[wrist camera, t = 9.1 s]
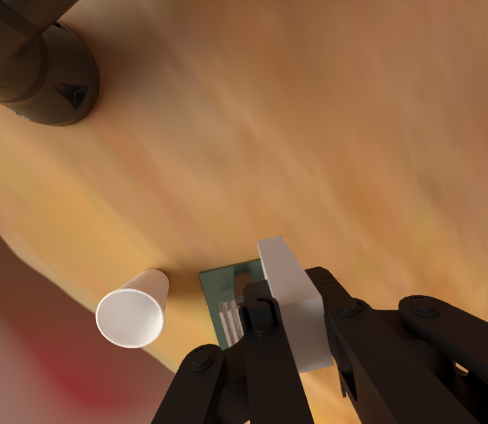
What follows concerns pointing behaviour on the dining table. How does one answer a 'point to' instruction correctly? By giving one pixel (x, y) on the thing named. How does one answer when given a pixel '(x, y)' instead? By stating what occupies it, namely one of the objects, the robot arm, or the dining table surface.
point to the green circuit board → (228, 297)
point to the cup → (135, 310)
